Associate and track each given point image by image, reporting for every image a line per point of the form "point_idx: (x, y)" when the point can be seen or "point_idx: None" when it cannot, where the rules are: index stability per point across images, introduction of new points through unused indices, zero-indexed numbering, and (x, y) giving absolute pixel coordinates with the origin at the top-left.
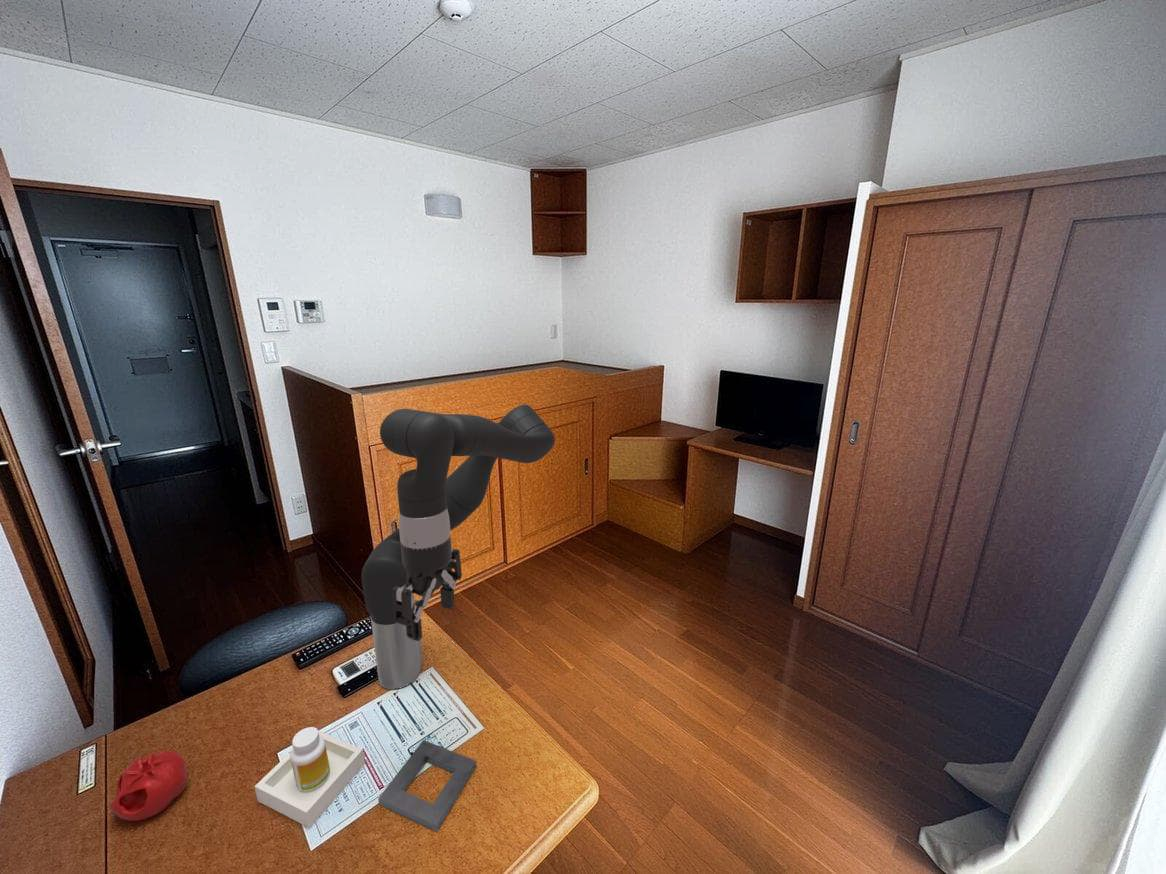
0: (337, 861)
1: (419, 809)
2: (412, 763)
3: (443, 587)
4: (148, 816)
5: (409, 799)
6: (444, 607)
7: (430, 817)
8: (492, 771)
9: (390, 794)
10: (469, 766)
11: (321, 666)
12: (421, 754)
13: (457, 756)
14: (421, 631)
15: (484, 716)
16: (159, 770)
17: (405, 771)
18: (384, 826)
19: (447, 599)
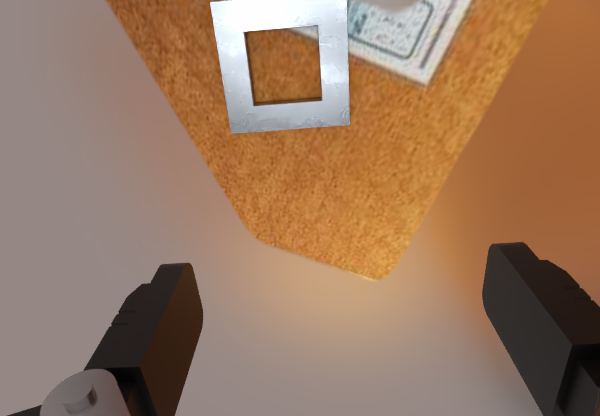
0: (118, 12)
1: (235, 91)
2: (293, 11)
3: (584, 377)
4: None
5: (238, 61)
6: (488, 257)
7: (235, 117)
8: (352, 150)
9: (227, 19)
10: (335, 121)
11: None
12: (317, 13)
13: (343, 87)
14: (189, 358)
15: (452, 67)
16: None
17: (273, 10)
18: (195, 43)
19: (514, 330)
